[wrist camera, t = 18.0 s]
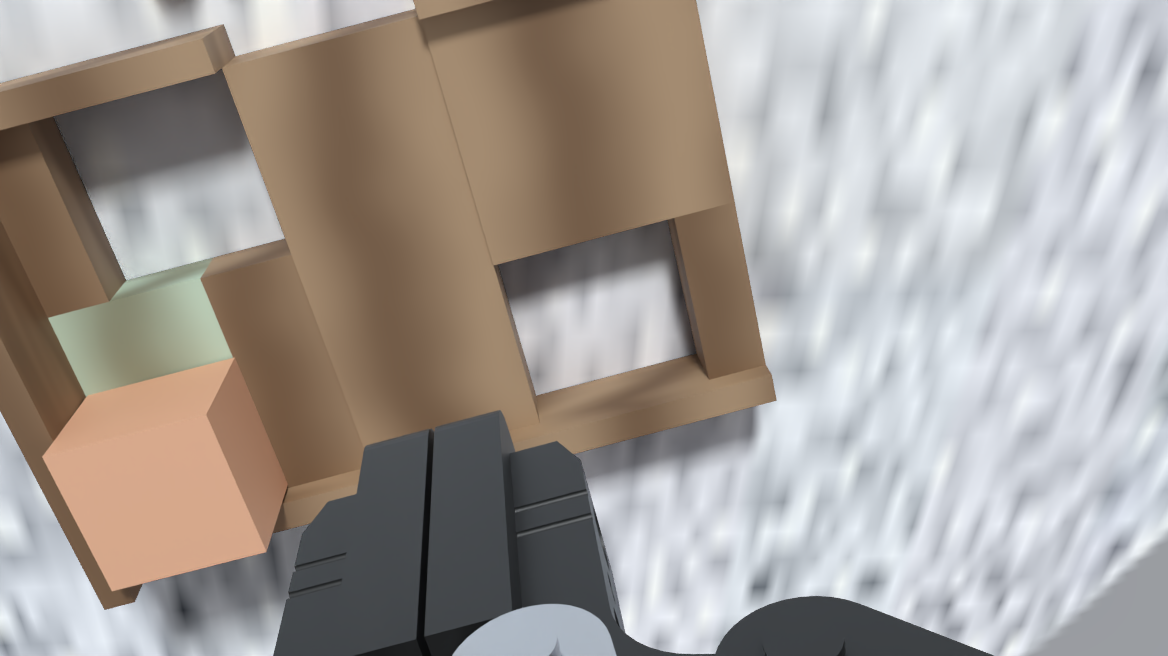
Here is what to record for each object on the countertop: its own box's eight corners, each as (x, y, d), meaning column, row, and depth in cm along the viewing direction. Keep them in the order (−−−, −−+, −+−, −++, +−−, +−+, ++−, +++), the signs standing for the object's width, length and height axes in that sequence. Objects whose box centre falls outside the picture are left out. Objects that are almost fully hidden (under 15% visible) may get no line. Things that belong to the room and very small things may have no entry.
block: (234, 357, 36) (206, 414, 32) (287, 484, 38) (266, 552, 34) (87, 395, 36) (42, 457, 32) (147, 520, 38) (112, 591, 34)
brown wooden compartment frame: (665, -93, 33) (698, -86, 29) (754, 363, 40) (792, 428, 35) (-61, 99, 33) (-144, 136, 29) (145, 524, 40) (104, 609, 35)
